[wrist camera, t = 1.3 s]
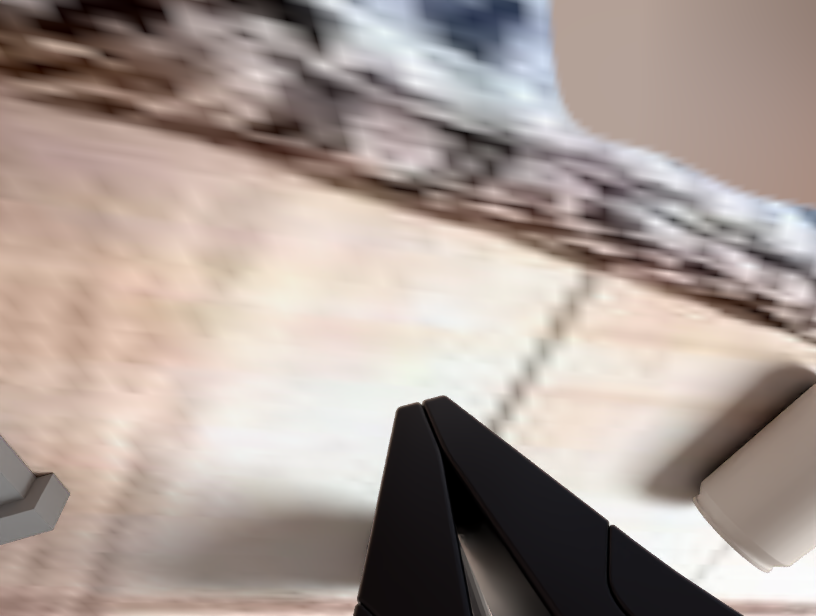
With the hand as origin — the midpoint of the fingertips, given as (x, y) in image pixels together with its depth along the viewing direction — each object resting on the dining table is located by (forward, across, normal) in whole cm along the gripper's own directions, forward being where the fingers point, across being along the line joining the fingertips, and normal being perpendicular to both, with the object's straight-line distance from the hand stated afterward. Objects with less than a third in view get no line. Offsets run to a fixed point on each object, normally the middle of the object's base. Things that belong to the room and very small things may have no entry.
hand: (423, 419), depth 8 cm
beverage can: (+10, -29, +19) cm, 36 cm away
